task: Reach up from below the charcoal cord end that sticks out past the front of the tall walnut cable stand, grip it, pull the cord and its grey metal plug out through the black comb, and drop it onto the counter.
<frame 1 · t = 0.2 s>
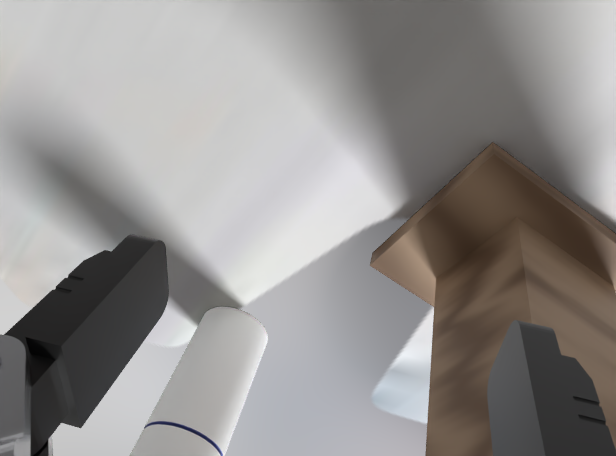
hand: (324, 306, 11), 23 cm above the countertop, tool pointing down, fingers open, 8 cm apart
cable stand: (498, 254, 37), on the countertop
cylindrical container: (235, 329, 51), on the countertop
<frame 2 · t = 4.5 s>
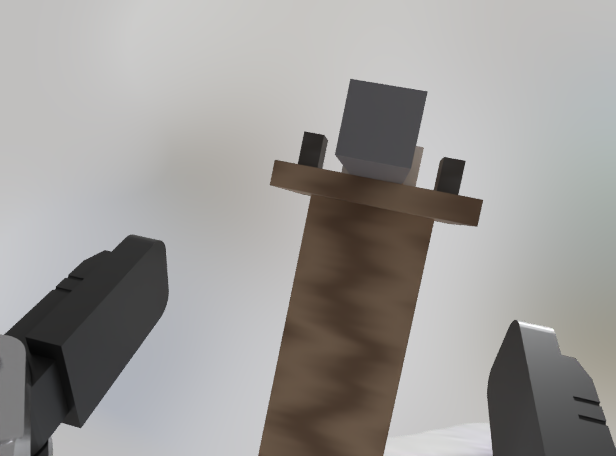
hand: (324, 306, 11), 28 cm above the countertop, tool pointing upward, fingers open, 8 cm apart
cord plug: (376, 180, 29), point 32 cm above the countertop, touching cable stand
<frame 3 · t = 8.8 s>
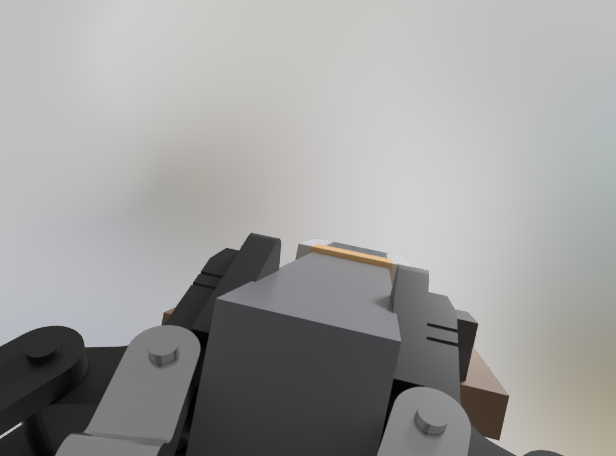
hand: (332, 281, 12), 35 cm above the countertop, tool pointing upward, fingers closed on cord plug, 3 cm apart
cord plug: (331, 344, 18), point 32 cm above the countertop, touching cable stand, gripper
when the fingers open (26 cm above the countertop, at t = 17.6 s): cord plug drops 23 cm, on the countertop.
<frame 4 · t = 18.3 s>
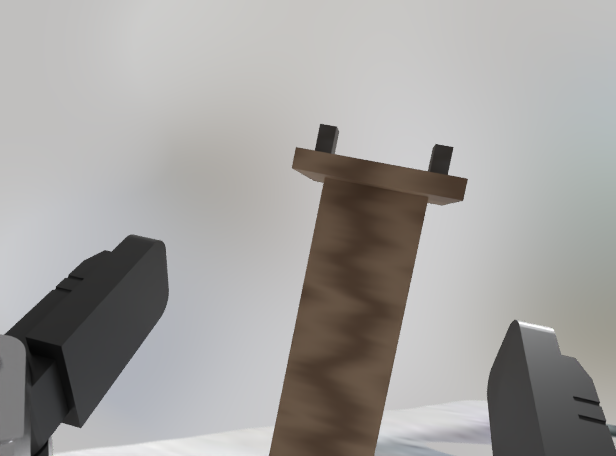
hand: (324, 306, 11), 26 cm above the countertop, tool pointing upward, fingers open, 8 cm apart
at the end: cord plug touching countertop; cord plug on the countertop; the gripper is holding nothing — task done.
